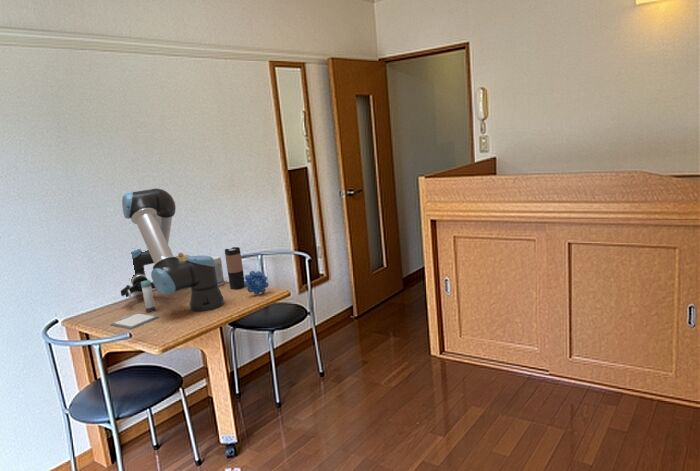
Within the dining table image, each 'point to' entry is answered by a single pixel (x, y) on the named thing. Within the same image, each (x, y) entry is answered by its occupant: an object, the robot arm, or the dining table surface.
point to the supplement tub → (218, 270)
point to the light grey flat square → (134, 320)
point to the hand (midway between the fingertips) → (145, 292)
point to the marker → (148, 296)
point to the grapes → (256, 282)
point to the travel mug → (234, 268)
